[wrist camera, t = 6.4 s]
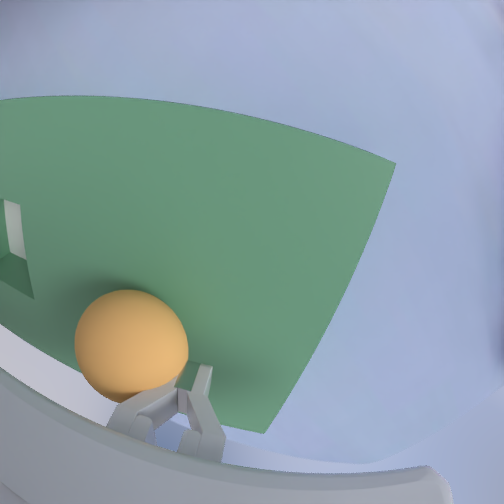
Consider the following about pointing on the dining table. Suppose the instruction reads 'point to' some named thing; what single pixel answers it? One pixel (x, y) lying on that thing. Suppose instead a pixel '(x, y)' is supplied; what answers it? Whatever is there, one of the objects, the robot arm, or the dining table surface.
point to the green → (183, 232)
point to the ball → (129, 344)
